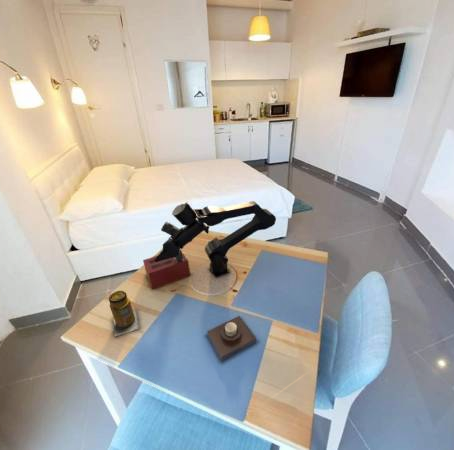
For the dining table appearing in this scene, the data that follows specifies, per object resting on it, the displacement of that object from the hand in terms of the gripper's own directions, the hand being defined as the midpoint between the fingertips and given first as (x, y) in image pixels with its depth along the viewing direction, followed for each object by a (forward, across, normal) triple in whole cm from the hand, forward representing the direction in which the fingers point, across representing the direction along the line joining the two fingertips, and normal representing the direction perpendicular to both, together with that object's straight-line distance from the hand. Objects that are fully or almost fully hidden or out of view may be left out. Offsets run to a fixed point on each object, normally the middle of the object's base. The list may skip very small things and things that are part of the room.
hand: (157, 258), depth 94 cm
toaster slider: (-4, -8, +6) cm, 11 cm away
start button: (-9, +22, +31) cm, 39 cm away
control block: (-7, +21, +33) cm, 40 cm away
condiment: (+20, +10, +10) cm, 24 cm away
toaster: (+5, -11, +9) cm, 15 cm away
